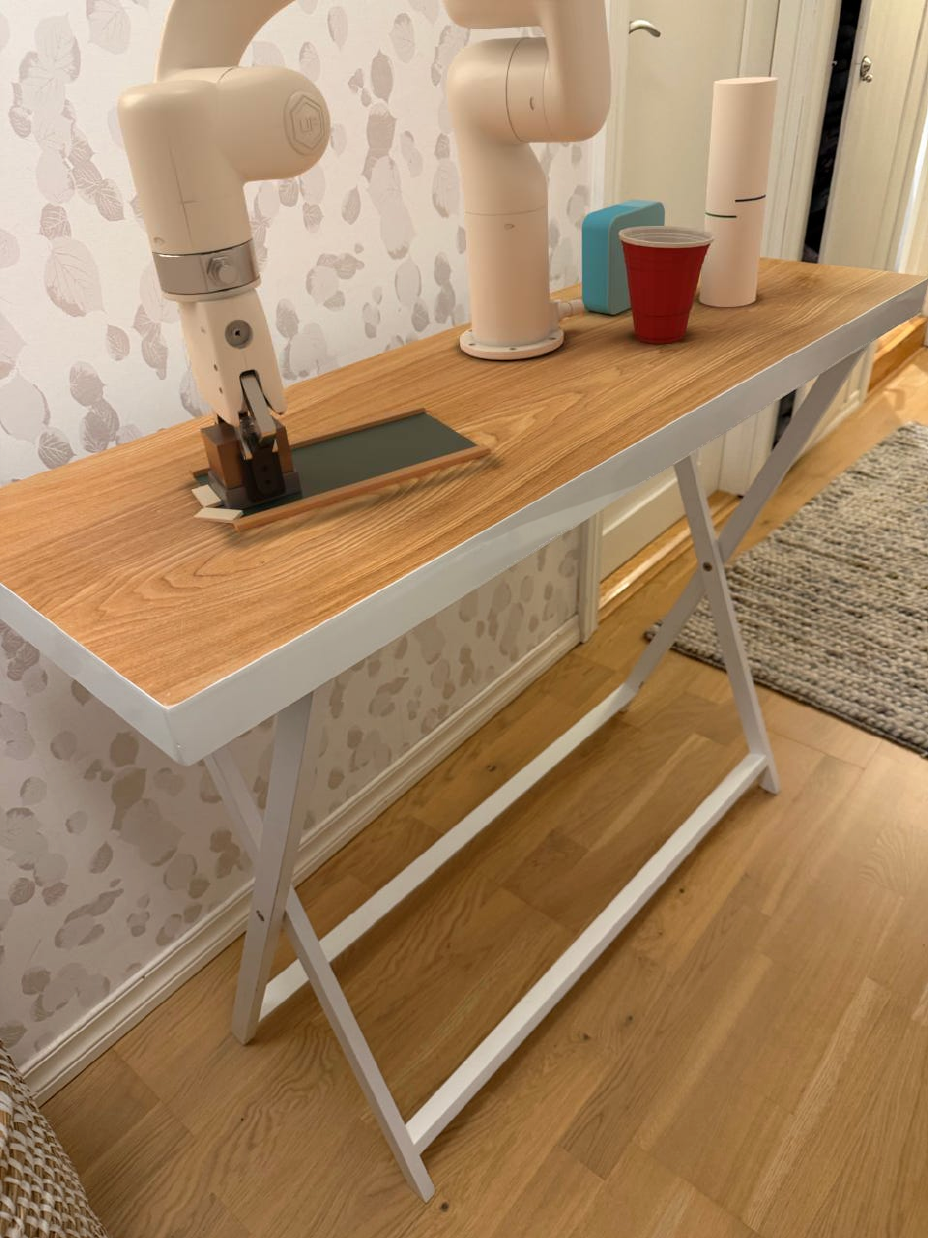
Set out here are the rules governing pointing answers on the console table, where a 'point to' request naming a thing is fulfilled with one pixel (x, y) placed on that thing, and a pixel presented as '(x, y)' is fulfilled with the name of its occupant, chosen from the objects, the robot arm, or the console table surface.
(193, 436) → the console table surface
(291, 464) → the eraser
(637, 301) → the plastic cup
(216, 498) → the chalk streak
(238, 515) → the chalk streak
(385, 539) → the console table surface
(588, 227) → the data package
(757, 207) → the cylindrical container
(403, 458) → the chalkboard
